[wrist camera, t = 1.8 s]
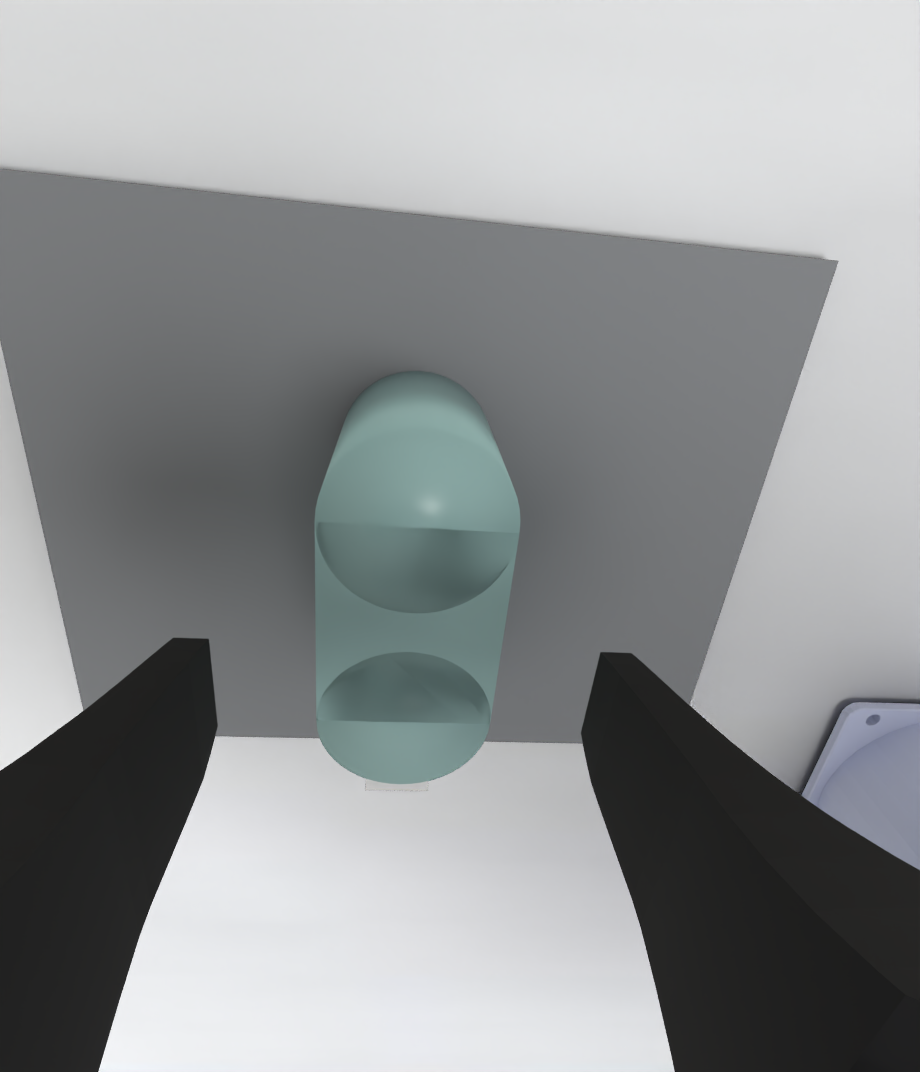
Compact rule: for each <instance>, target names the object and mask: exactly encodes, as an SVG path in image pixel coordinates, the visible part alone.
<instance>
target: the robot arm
mask: <svg viewBox="0 0 920 1072" xmlns="http://www.w3.org/2000/svg"><path fill="white" fill-rule="evenodd" d="M217 727H218V723H217V713H216V703H215V694H214V684H213V674H212V664H211V655H210V645H209V639H202V638H172V639H171V640H170V641H168V642H167V643H166V644H165V645H163V646H162V647H161V648H160V649H159V650H157V651H156V652H155V653H154V654H152V655H151V656H150V657H149V658H148V659H146V660H145V661H144V662H143V663H142V664H140V665H139V666H138V667H137V668H136V669H134V670H133V671H132V672H131V673H130V674H128V675H127V676H126V677H125V678H124V679H122V680H121V681H120V682H119V683H118V684H116V685H115V686H114V687H113V688H111V689H110V690H109V691H108V692H106V693H105V694H104V695H103V696H101V697H100V698H99V699H98V700H96V701H95V702H94V703H93V704H91V705H90V706H89V707H88V708H86V709H85V710H84V711H83V712H81V713H80V714H79V715H78V716H76V717H75V718H73V719H72V720H71V721H69V722H68V723H67V724H65V725H64V726H63V727H61V728H60V729H58V730H57V731H56V732H54V733H53V734H52V735H50V736H49V737H48V738H46V739H45V740H44V741H42V742H41V743H39V744H38V745H37V746H35V747H34V748H33V749H31V750H30V751H29V752H27V753H26V754H24V755H23V756H21V757H20V758H19V759H17V760H16V761H14V762H13V763H11V764H10V765H8V766H7V767H5V768H4V769H2V770H1V771H0V1072H98V1071H99V1067H100V1064H101V1060H102V1057H103V1054H104V1050H105V1047H106V1044H107V1040H108V1037H109V1033H110V1030H111V1027H112V1023H113V1020H114V1016H115V1013H116V1010H117V1006H118V1003H119V1000H120V997H121V993H122V990H123V987H124V984H125V981H126V977H127V974H128V971H129V968H130V965H131V961H132V958H133V955H134V952H135V949H136V946H137V942H138V939H139V936H140V933H141V931H142V928H143V925H144V922H145V920H146V917H147V914H148V912H149V909H150V906H151V904H152V901H153V899H154V897H155V894H156V892H157V890H158V887H159V885H160V882H161V880H162V878H163V875H164V873H165V870H166V868H167V866H168V863H169V861H170V858H171V856H172V854H173V851H174V849H175V847H176V844H177V842H178V839H179V837H180V835H181V832H182V830H183V827H184V825H185V823H186V820H187V818H188V815H189V813H190V810H191V808H192V806H193V803H194V801H195V798H196V796H197V793H198V791H199V788H200V786H201V783H202V781H203V778H204V775H205V771H206V768H207V764H208V761H209V757H210V754H211V750H212V746H213V742H214V739H215V735H216V731H217ZM581 737H582V742H583V747H584V752H585V757H586V762H587V766H588V770H589V775H590V779H591V783H592V786H593V789H594V792H595V795H596V798H597V801H598V804H599V807H600V810H601V813H602V816H603V819H604V821H605V824H606V827H607V830H608V833H609V836H610V838H611V841H612V844H613V847H614V850H615V852H616V855H617V858H618V861H619V864H620V867H621V869H622V872H623V875H624V878H625V881H626V883H627V886H628V889H629V892H630V895H631V898H632V901H633V904H634V907H635V910H636V913H637V917H638V920H639V923H640V926H641V930H642V934H643V938H644V942H645V946H646V950H647V954H648V958H649V962H650V966H651V970H652V974H653V978H654V982H655V986H656V990H657V994H658V999H659V1003H660V1007H661V1012H662V1016H663V1020H664V1025H665V1029H666V1033H667V1038H668V1042H669V1046H670V1051H671V1055H672V1060H673V1065H674V1070H675V1072H920V704H905V703H870V702H856V703H852V704H849V705H848V706H846V707H845V708H844V709H843V710H842V712H841V714H840V716H839V718H838V720H837V722H836V724H835V727H834V729H833V731H832V733H831V735H830V737H829V739H828V741H827V743H826V745H825V747H824V749H823V752H822V754H821V756H820V758H819V760H818V762H817V764H816V766H815V768H814V770H813V772H812V774H811V777H810V779H809V781H808V783H807V785H806V787H805V789H804V791H803V793H802V795H800V794H798V793H797V792H795V791H794V790H793V789H791V788H790V787H788V786H787V785H785V784H784V783H783V782H781V781H780V780H779V779H777V778H776V777H775V776H773V775H772V774H771V773H769V772H768V771H767V770H765V769H764V768H763V767H762V766H760V765H759V764H758V763H757V762H755V761H754V760H753V759H752V758H750V757H749V756H748V755H747V754H745V753H744V752H743V751H742V750H740V749H739V748H738V747H737V746H735V745H734V744H733V743H732V742H731V741H730V740H728V739H727V738H726V737H725V736H724V735H722V734H721V733H720V732H719V731H718V730H717V729H715V728H714V727H713V726H712V725H711V724H710V723H709V722H707V721H706V720H705V719H704V718H703V717H702V716H701V715H700V714H698V713H697V712H696V711H695V710H694V709H693V708H692V707H691V706H689V705H688V704H687V703H686V702H685V701H684V700H683V699H682V698H681V697H680V696H679V695H677V694H676V693H675V692H674V691H673V690H672V689H671V688H670V687H669V686H668V685H667V684H665V683H664V682H663V681H662V680H661V679H660V678H659V677H658V676H657V675H656V674H655V673H654V672H652V671H651V670H650V669H649V668H648V667H647V666H646V665H645V664H644V663H642V662H641V661H640V660H639V659H638V658H637V657H636V656H634V655H633V654H632V653H617V652H600V656H599V660H598V664H597V668H596V672H595V676H594V681H593V685H592V689H591V693H590V697H589V701H588V705H587V709H586V713H585V718H584V722H583V726H582V730H581Z"/></svg>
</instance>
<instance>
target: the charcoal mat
mask: <svg viewBox="0 0 920 1072" xmlns="http://www.w3.org/2000/svg"><path fill="white" fill-rule="evenodd" d="M837 264H838V261H834V260H825V259H816V258H807V257H798V256H789V255H780V254H771V253H762V252H752V251H743V250H734V249H725V248H716V247H707V246H698V245H689V244H680V243H671V242H662V241H652V240H643V239H634V238H625V237H616V236H607V235H598V234H589V233H580V232H571V231H562V230H552V229H543V228H534V227H525V226H516V225H507V224H498V223H489V222H480V221H471V220H462V219H453V218H443V217H434V216H425V215H416V214H407V213H398V212H389V211H380V210H371V209H362V208H353V207H343V206H334V205H325V204H316V203H307V202H298V201H289V200H280V199H271V198H262V197H253V196H243V195H234V194H225V193H216V192H207V191H198V190H189V189H180V188H171V187H162V186H153V185H144V184H134V183H125V182H116V181H107V180H98V179H89V178H80V177H71V176H62V175H53V174H44V173H34V172H25V171H16V170H7V169H0V341H1V346H2V350H3V355H4V359H5V364H6V368H7V372H8V377H9V381H10V386H11V390H12V395H13V399H14V404H15V408H16V413H17V417H18V421H19V426H20V430H21V435H22V439H23V444H24V448H25V453H26V457H27V461H28V466H29V470H30V475H31V479H32V484H33V488H34V493H35V497H36V501H37V506H38V510H39V515H40V519H41V524H42V528H43V533H44V537H45V541H46V546H47V550H48V555H49V559H50V564H51V568H52V573H53V577H54V582H55V586H56V590H57V595H58V599H59V604H60V608H61V613H62V617H63V622H64V626H65V630H66V635H67V639H68V644H69V648H70V653H71V657H72V662H73V666H74V670H75V675H76V679H77V684H78V688H79V693H80V697H81V702H82V706H83V710H85V709H86V708H88V707H89V706H90V705H91V704H93V703H94V702H95V701H96V700H98V699H99V698H100V697H101V696H103V695H104V694H105V693H106V692H108V691H109V690H110V689H111V688H113V687H114V686H115V685H116V684H118V683H119V682H120V681H121V680H122V679H124V678H125V677H126V676H127V675H128V674H130V673H131V672H132V671H133V670H134V669H136V668H137V667H138V666H139V665H140V664H142V663H143V662H144V661H145V660H146V659H148V658H149V657H150V656H151V655H152V654H154V653H155V652H156V651H157V650H159V649H160V648H161V647H162V646H163V645H165V644H166V643H167V642H168V641H170V640H171V639H172V638H202V639H209V645H210V655H211V664H212V674H213V684H214V694H215V703H216V713H217V723H218V727H217V731H216V735H215V736H233V737H283V738H320V737H319V734H318V730H317V722H316V624H315V509H316V504H317V500H318V496H319V493H320V490H321V487H322V484H323V482H324V479H325V476H326V473H327V470H328V467H329V464H330V461H331V459H332V456H333V453H334V450H335V447H336V444H337V441H338V439H339V436H340V433H341V430H342V427H343V424H344V421H345V419H346V416H347V413H348V412H349V410H350V408H351V406H352V404H353V403H354V402H355V400H356V399H357V398H358V396H359V395H360V394H361V393H362V392H363V391H364V390H365V389H367V388H368V387H369V386H371V385H372V384H373V383H375V382H377V381H378V380H380V379H382V378H384V377H387V376H389V375H392V374H396V373H400V372H407V371H425V372H431V373H435V374H439V375H442V376H444V377H447V378H449V379H451V380H453V381H455V382H456V383H458V384H460V385H461V386H462V387H463V388H465V389H466V390H467V391H468V392H469V393H470V394H471V395H472V396H473V397H474V398H475V399H476V401H477V402H478V404H479V405H480V406H481V408H482V410H483V412H484V414H485V416H486V419H487V421H488V424H489V426H490V429H491V431H492V434H493V436H494V439H495V441H496V444H497V446H498V449H499V452H500V454H501V457H502V459H503V462H504V464H505V467H506V469H507V472H508V474H509V477H510V479H511V482H512V484H513V487H514V490H515V493H516V495H517V499H518V503H519V508H520V533H519V540H518V546H517V553H516V559H515V566H514V572H513V578H512V585H511V591H510V598H509V604H508V611H507V617H506V624H505V630H504V637H503V643H502V650H501V656H500V662H499V669H498V675H497V682H496V688H495V695H494V701H493V708H492V714H491V721H490V726H489V730H488V734H487V736H486V738H485V741H486V742H536V743H583V742H582V737H581V730H582V726H583V722H584V718H585V713H586V709H587V705H588V701H589V697H590V693H591V689H592V685H593V681H594V676H595V672H596V668H597V664H598V660H599V656H600V652H617V653H632V654H633V655H634V656H636V657H637V658H638V659H639V660H640V661H641V662H642V663H644V664H645V665H646V666H647V667H648V668H649V669H650V670H651V671H652V672H654V673H655V674H656V675H657V676H658V677H659V678H660V679H661V680H662V681H663V682H664V683H665V684H667V685H668V686H669V687H670V688H671V689H672V690H673V691H674V692H675V693H676V694H677V695H679V696H680V697H681V698H682V699H683V700H684V701H685V702H686V703H687V704H688V705H689V704H690V701H691V698H692V695H693V692H694V689H695V686H696V683H697V680H698V677H699V674H700V671H701V669H702V666H703V663H704V660H705V657H706V654H707V651H708V648H709V645H710V642H711V639H712V636H713V633H714V630H715V627H716V624H717V621H718V618H719V615H720V612H721V609H722V606H723V603H724V600H725V597H726V594H727V591H728V588H729V585H730V582H731V579H732V576H733V573H734V570H735V567H736V564H737V561H738V558H739V555H740V553H741V550H742V547H743V544H744V541H745V538H746V535H747V532H748V529H749V526H750V523H751V520H752V517H753V514H754V511H755V508H756V505H757V502H758V499H759V496H760V493H761V490H762V487H763V484H764V481H765V478H766V475H767V472H768V469H769V466H770V463H771V460H772V457H773V454H774V451H775V448H776V445H777V442H778V439H779V436H780V434H781V431H782V428H783V425H784V422H785V419H786V416H787V413H788V410H789V407H790V404H791V401H792V398H793V395H794V392H795V389H796V386H797V383H798V380H799V377H800V374H801V371H802V368H803V365H804V362H805V359H806V356H807V353H808V350H809V347H810V344H811V341H812V338H813V335H814V332H815V329H816V326H817V323H818V320H819V318H820V315H821V312H822V309H823V306H824V303H825V300H826V297H827V294H828V291H829V288H830V285H831V282H832V279H833V276H834V273H835V270H836V267H837Z"/></svg>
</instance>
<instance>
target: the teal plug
mask: <svg viewBox="0 0 920 1072" xmlns="http://www.w3.org/2000/svg"><path fill="white" fill-rule="evenodd" d="M519 533H520V508H519V503H518V499H517V495H516V493H515V490H514V487H513V484H512V482H511V479H510V477H509V474H508V472H507V469H506V467H505V464H504V462H503V459H502V457H501V454H500V452H499V449H498V446H497V444H496V441H495V439H494V436H493V434H492V431H491V429H490V426H489V424H488V421H487V419H486V416H485V414H484V412H483V410H482V408H481V406H480V405H479V404H478V402H477V401H476V399H475V398H474V397H473V396H472V395H471V394H470V393H469V392H468V391H467V390H466V389H465V388H463V387H462V386H461V385H460V384H458V383H456V382H455V381H453V380H451V379H449V378H447V377H444V376H442V375H439V374H435V373H431V372H425V371H407V372H400V373H396V374H392V375H389V376H387V377H384V378H382V379H380V380H378V381H377V382H375V383H373V384H372V385H371V386H369V387H368V388H367V389H365V390H364V391H363V392H362V393H361V394H360V395H359V396H358V398H357V399H356V400H355V402H354V403H353V404H352V406H351V408H350V410H349V412H348V413H347V416H346V419H345V421H344V424H343V427H342V430H341V433H340V436H339V439H338V441H337V444H336V447H335V450H334V453H333V456H332V459H331V461H330V464H329V467H328V470H327V473H326V476H325V479H324V482H323V484H322V487H321V490H320V493H319V496H318V500H317V504H316V509H315V624H316V722H317V730H318V734H319V737H320V740H321V742H322V744H323V746H324V747H325V749H326V750H327V752H328V753H329V754H330V755H331V757H332V758H333V759H334V760H335V761H336V762H338V763H339V764H340V765H341V766H343V767H344V768H346V769H347V770H349V771H350V772H352V773H354V774H356V775H358V776H361V777H363V778H366V784H365V790H381V791H428V782H429V781H430V780H434V779H437V778H440V777H442V776H445V775H447V774H449V773H451V772H453V771H455V770H456V769H458V768H460V767H461V766H462V765H464V764H465V763H466V762H468V761H469V760H470V759H471V758H472V757H473V756H474V755H475V754H476V752H477V751H478V750H479V749H480V747H481V746H482V744H483V742H484V741H485V738H486V736H487V734H488V730H489V726H490V721H491V714H492V708H493V701H494V695H495V688H496V682H497V675H498V669H499V662H500V656H501V650H502V643H503V637H504V630H505V624H506V617H507V611H508V604H509V598H510V591H511V585H512V578H513V572H514V566H515V559H516V553H517V546H518V540H519Z"/></svg>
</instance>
